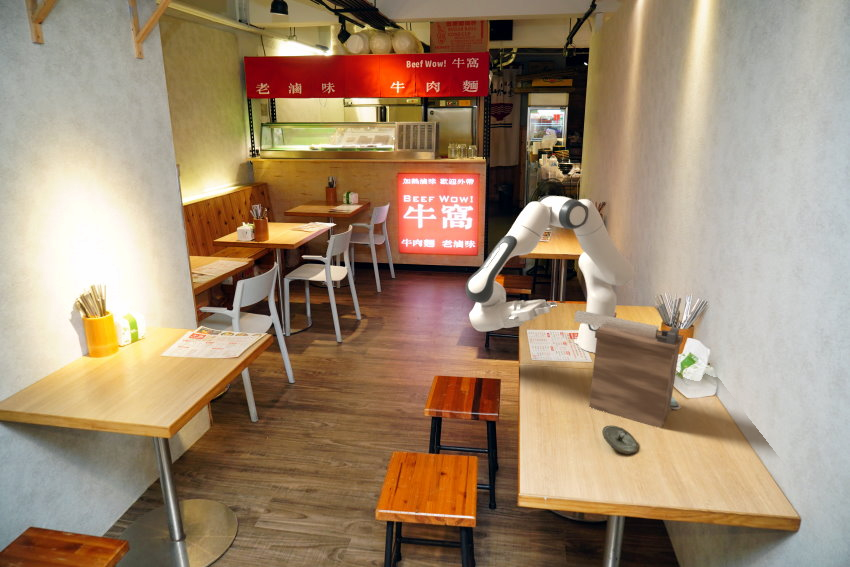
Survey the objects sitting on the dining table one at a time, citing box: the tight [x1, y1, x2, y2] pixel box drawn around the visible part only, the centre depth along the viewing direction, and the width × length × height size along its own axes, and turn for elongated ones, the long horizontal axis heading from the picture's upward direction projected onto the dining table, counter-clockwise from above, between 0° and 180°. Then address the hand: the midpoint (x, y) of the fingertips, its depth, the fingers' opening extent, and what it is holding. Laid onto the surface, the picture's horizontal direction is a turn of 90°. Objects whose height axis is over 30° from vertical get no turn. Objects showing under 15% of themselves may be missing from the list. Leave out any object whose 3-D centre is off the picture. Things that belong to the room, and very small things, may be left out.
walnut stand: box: [588, 326, 684, 429], centre depth 180 cm, size 13×23×29 cm, turn 57°
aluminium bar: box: [573, 309, 660, 338], centre depth 180 cm, size 3×25×3 cm, turn 57°
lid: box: [601, 425, 639, 455], centre depth 163 cm, size 11×10×5 cm
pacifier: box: [670, 396, 681, 411], centre depth 187 cm, size 7×6×6 cm
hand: (553, 306), depth 194 cm, fingers open, 8 cm apart
